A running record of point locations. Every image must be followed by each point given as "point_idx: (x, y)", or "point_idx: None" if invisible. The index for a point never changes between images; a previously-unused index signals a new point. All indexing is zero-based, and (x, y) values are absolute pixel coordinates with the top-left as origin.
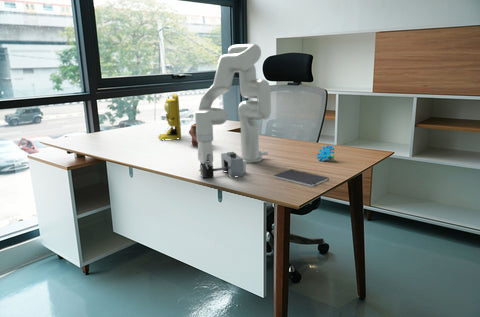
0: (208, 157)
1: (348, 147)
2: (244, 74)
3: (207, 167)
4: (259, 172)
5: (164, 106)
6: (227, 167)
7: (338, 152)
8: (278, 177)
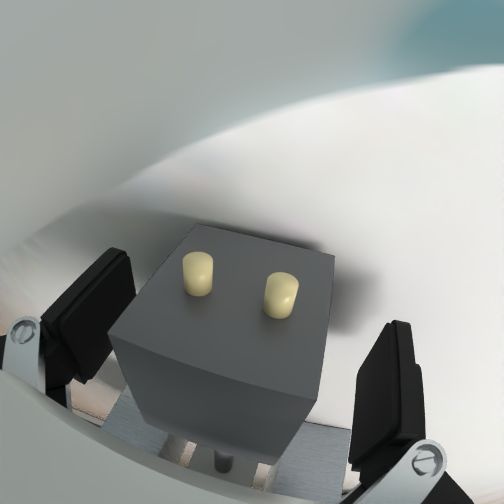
0: None
1: None
2: None
3: (10, 332)
4: (188, 451)
5: None
6: (214, 452)
7: None
8: (98, 422)
